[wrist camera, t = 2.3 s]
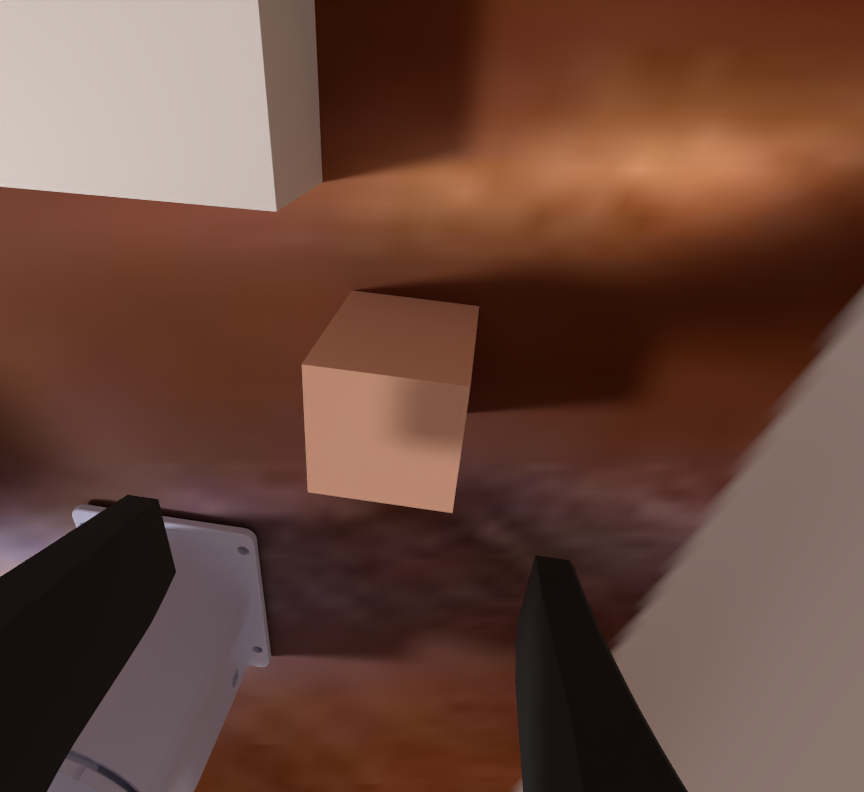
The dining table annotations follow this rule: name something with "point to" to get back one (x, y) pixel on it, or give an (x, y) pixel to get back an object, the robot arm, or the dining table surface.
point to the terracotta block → (389, 400)
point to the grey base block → (161, 99)
